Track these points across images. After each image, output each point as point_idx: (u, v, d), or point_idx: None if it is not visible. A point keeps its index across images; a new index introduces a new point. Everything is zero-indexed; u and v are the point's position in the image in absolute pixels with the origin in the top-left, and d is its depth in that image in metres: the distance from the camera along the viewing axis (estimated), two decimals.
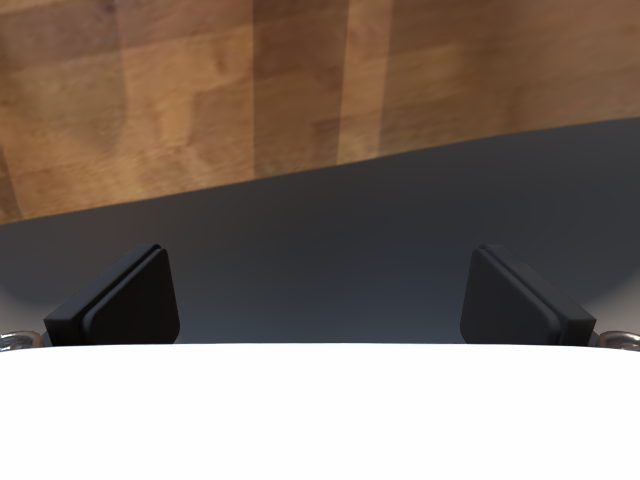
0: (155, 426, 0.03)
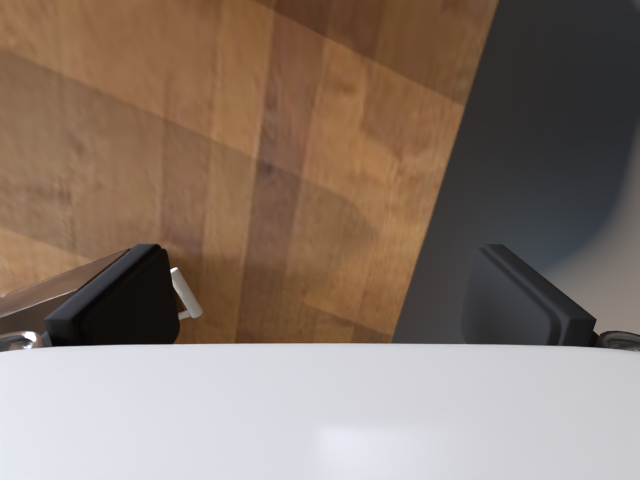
0: (153, 427, 0.03)
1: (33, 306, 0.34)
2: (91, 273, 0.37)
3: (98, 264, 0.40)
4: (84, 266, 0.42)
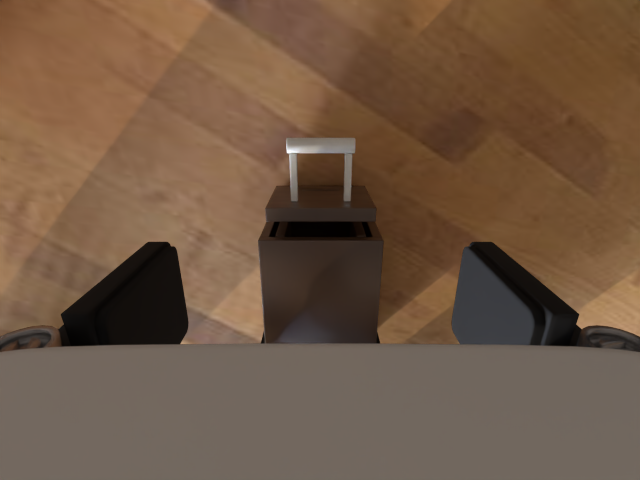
0: (154, 426, 0.03)
1: (263, 294, 0.31)
2: None
3: None
4: None
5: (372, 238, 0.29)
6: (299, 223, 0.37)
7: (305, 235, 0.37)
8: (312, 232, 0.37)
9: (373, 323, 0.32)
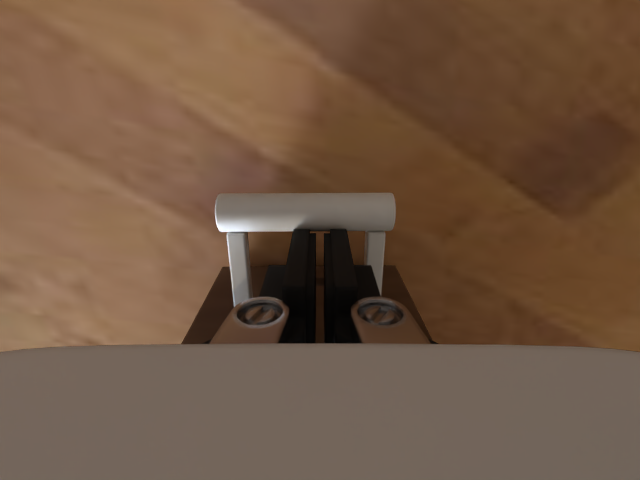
0: (154, 426, 0.03)
1: None
2: None
3: None
4: None
5: None
6: None
7: None
8: None
9: None
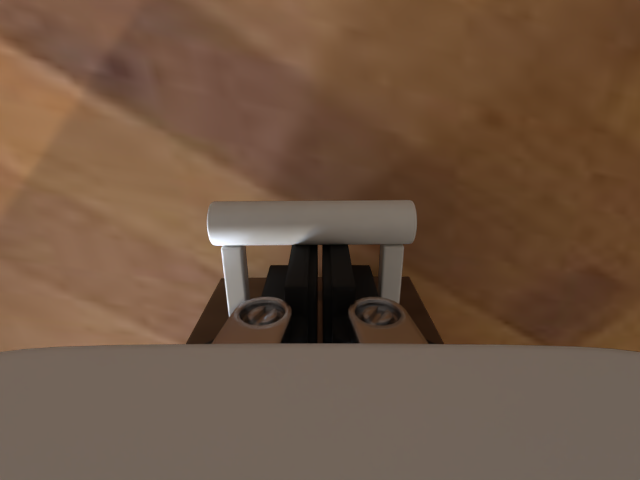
0: (154, 426, 0.03)
1: None
2: None
3: None
4: None
5: None
6: None
7: None
8: None
9: None
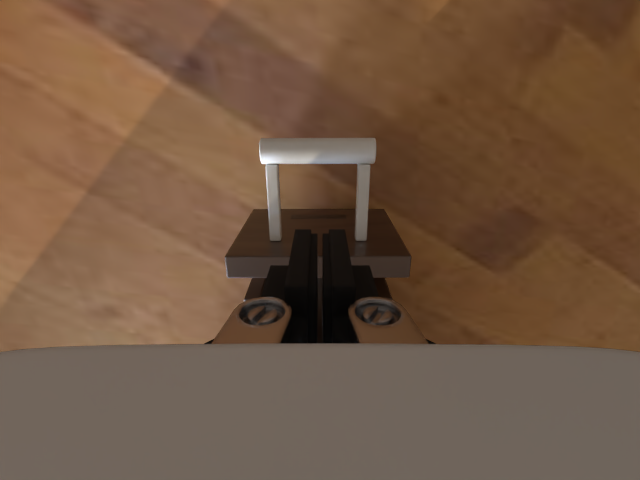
0: (153, 427, 0.03)
1: None
2: None
3: None
4: None
5: None
6: None
7: None
8: None
9: None
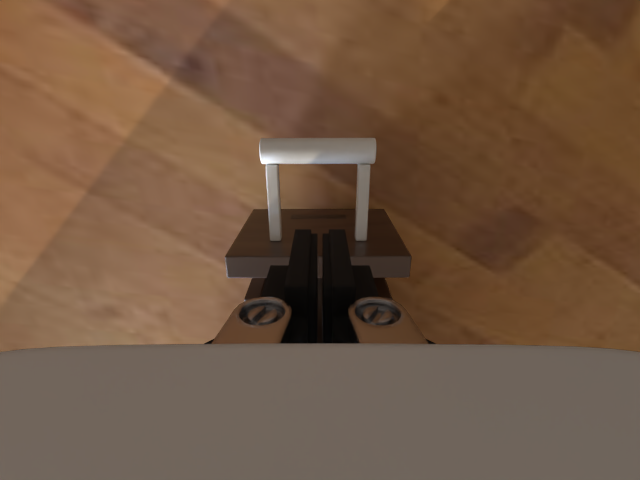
0: (153, 427, 0.03)
1: None
2: None
3: None
4: None
5: None
6: None
7: None
8: None
9: None
